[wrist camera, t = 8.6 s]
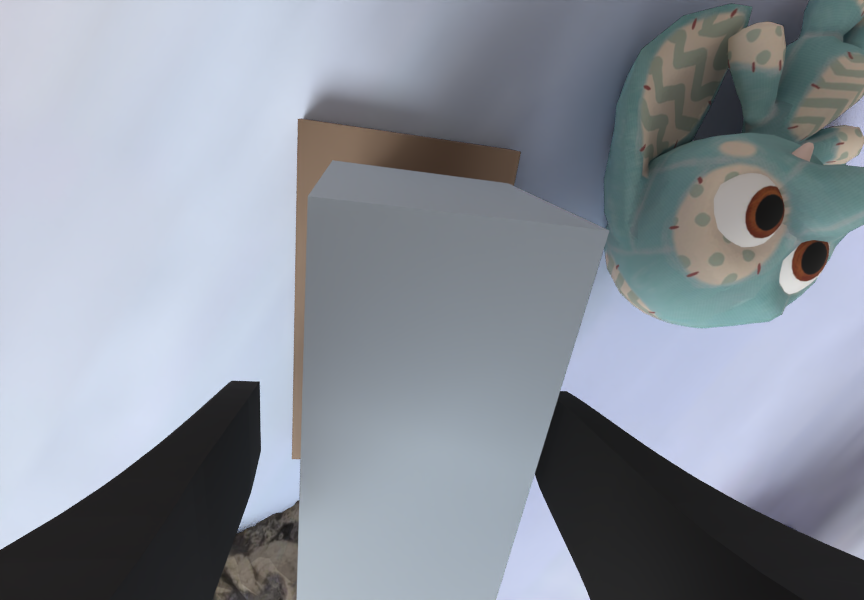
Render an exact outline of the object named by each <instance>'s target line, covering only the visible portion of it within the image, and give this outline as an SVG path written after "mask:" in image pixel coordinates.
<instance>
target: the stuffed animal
mask: <svg viewBox="0 0 864 600" xmlns="http://www.w3.org/2000/svg"><path fill="white" fill-rule="evenodd" d="M751 11H752V7H751V6H744V5H738V4H732V3H731V4H727V5H723V6H719V7H715V8H711V9H707V10H703V11H700V12H696V13H692V14H688V15H684V16H682V17H681V18H680V19H679V20H677V21H676V22H675V23H674V24H672V25H671V26H670V27H669V28H667V29H666V30H665V31H664V32H662V33H661V34H660V35H659V36H657V37H656V38H655V39H654V40H652V41H651V42H650V43H649V44H647V45H646V46H645V47H644V48H642V49H641V51H640V53H639V55H638V57H637V59H636V61H635V62H634V64H633V66H632V68H631V70H630V72H629V74H628V76H627V78H626V81H625V84H624V87H623V89H622V92H621V95H620V97H619V100H618V103H617V106H616V116H615V126H614V131H613V136H612V142H611V147H610V152H609V157H608V161H607V166H606V171H605V176H604V213H605V216H606V219H607V222H608V224H607V227H606V229H607V230H609V234H608V237H607V240H606V244H605V247H604V250H605V257H606V265H607V269H608V271H609V273H610V275H611V277H612V279H613V281H614V282H615V284H616V286H617V288H618V290H619V292H620V293H621V294H622V295H623V296H624V297H625V298H626V299H627V300H628V301H629V302H630V303H631V304H632V305H634V306H635V307H636V308H638V309H639V310H641V311H642V312H644V313H646V314H648V315H650V316H652V317H655V318H657V319H660V320H662V321H665V322H667V323H671V324H676V325H681V326H687V327H693V328H712V327H723V326H735V325H743V324H752V323H761V322H769V321H771V320H773V319H774V318H776V317H778V316H780V315H782V313H783V311H784V309H785V307H786V306H787V305H789V304H790V303H792V302H793V301H794V300H796V299H797V298H798V297H799V296H801V295H802V294H803V293H804V292H805V291H806V290H807V289H808V288H809V287H810V286H811V285H812V284H813V283H815V281H816V279H817V278H818V276H819V275H820V274H821V272H822V270H823V269H824V267H825V265H826V263H827V262H828V260H829V259H830V257H831V255H832V253H833V251H834V249H835V247H836V245H837V244H838V243H839V242H840V241H841V240H842V239H843V238H844V237H845V236H846V235H847V234H848V233H849V232H851V231H853V230H854V229H856V228H858V227H860V226H862V225H864V167H857V166H848V165H846V162H848V161H849V160H851V159H853V158H854V157H856V156H857V155H859V153H860V151H861V149H862V146H863V144H864V137H863V134H862V132H861V130H860V128H859V127H853V126H847V125H840V126H832V127H828V128H825V129H822V128H823V127H825V126H826V125H828V124H829V123H831V122H832V121H833V120H835V119H836V118H838V117H839V116H840V115H841V114H843V113H844V112H845V111H846V110H848V109H849V108H850V107H852V106H853V105H854V104H855V103H857V102H858V101H859V100H860V99H861V98H862V96H863V95H864V0H809V2H808V4H807V7H806V9H805V11H804V17H803V24H802V29H801V34H800V36H799V39H798V40H796V41H794V42H793V43H791V44H790V45H788V46H786V43H785V35H784V28H783V26H782V25H779V24H776V23H773V22H760V23H755V24H753V25H751V26H748V27H747V25H748V22H749V18H750V14H751ZM728 68H729V69H730V72H731V75H732V78H733V81H734V85H735V89H736V92H737V95H738V97H739V100H740V102H741V106H742V112H743V118H744V120H743V127H742V133H741V134H731V135H721V136H714V137H709V138H705V139H700V140H695V141H692V140H693V138H694V136H695V134H696V132H697V131H698V129H699V127H700V125H701V123H702V121H703V119H704V118H705V116H706V114H707V112H708V110H709V108H710V106H711V105H712V103H713V101H714V99H715V97H716V94H717V92H718V90H719V88H720V86H721V83H722V81H723V79H724V77H725V75H726V72H727V70H728ZM691 141H692V142H691Z"/></svg>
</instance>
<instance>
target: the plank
mask: <svg viewBox="0 0 864 600" xmlns="http://www.w3.org/2000/svg"><path fill="white" fill-rule="evenodd" d="M608 234H609V230H607V229H605V228H603V227H601V226H599V225H596V224H594V223H592V222H590V221H588V220H586V219H584V218H581V217H579V216H577V215H575V214H573V213H571V212H569V211H566V210H564V209H562V208H560V207H558V206H556V205H554V204H551V203H549V202H547V201H545V200H543V199H541V198H538V197H536V196H534V195H532V194H530V193H528V192H526V191H523V190H521V189H519V188H517V187H515V186H513V185H511V184H508V183H502V182H494V181H486V180H479V179H471V178H463V177H456V176H448V175H441V174H433V173H425V172H418V171H410V170H403V169H395V168H387V167H380V166H372V165H365V164H357V163H349V162H342V161H334V160H332V162H331V163H330V165H329V166H328V168H327V169H326V171H325V172H324V173H323V175H322V176H321V178H320V179H319V181H318V182H317V184H316V185H315V186H314V188H313V189H312V191H311V192H310V194H309V195H308V206H307V242H306V278H305V314H304V350H303V386H302V422H301V459H300V495H299V531H298V567H297V600H496V598H497V594H498V591H499V588H500V585H501V581H502V578H503V575H504V572H505V568H506V565H507V562H508V559H509V555H510V552H511V549H512V546H513V543H514V539H515V536H516V533H517V530H518V526H519V523H520V520H521V517H522V513H523V510H524V507H525V504H526V500H527V497H528V494H529V491H530V487H531V484H532V481H533V478H534V474H535V471H536V468H537V465H538V461H539V458H540V455H541V452H542V448H543V445H544V442H545V439H546V435H547V432H548V429H549V426H550V422H551V419H552V416H553V413H554V409H555V406H556V403H557V400H558V396H559V393H560V390H561V387H562V383H563V380H564V377H565V374H566V370H567V367H568V364H569V361H570V357H571V354H572V351H573V348H574V344H575V341H576V338H577V335H578V331H579V328H580V325H581V322H582V318H583V315H584V312H585V309H586V305H587V302H588V299H589V296H590V292H591V289H592V286H593V283H594V279H595V276H596V273H597V270H598V266H599V263H600V260H601V257H602V253H603V250H604V247H605V244H606V240H607V237H608Z"/></svg>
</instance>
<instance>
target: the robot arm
mask: <svg viewBox="0 0 864 600" xmlns="http://www.w3.org/2000/svg"><path fill="white" fill-rule="evenodd" d="M260 452H261V433H260V382H252V381H231V382H230V383H228V384H227V385H226V386H225V387H224V388H223V389H221V390H220V391H219V392H218V393H217V394H216V395H215V396H214V397H213V398H211V399H210V400H209V401H208V402H207V403H206V404H205V405H204V406H203V407H201V408H200V409H199V410H198V411H197V412H196V413H195V414H193V415H192V416H191V417H190V418H189V419H188V420H187V421H185V422H184V423H183V424H182V425H181V426H179V427H178V428H177V429H176V430H175V431H174V432H172V433H171V434H170V435H169V436H168V437H166V438H165V439H164V440H163V441H162V442H160V443H159V444H158V445H157V446H155V447H154V448H153V449H152V450H150V451H149V452H148V453H146V454H145V455H144V456H143V457H141V458H140V459H139V460H137V461H136V462H135V463H133V464H132V465H131V466H130V467H128V468H127V469H126V470H124V471H123V472H122V473H120V474H119V475H118V476H116V477H115V478H113V479H112V480H111V481H109V482H108V483H106V484H105V485H104V486H102V487H101V488H99V489H98V490H96V491H95V492H93V493H92V494H90V495H89V496H87V497H86V498H84V499H83V500H81V501H80V502H78V503H77V504H75V505H74V506H72V507H71V508H69V509H68V510H66V511H64V512H63V513H61V514H60V515H58V516H57V517H55V518H53V519H52V520H50V521H48V522H47V523H45V524H43V525H41V526H40V527H38V528H36V529H35V530H33V531H31V532H30V533H28V534H26V535H25V536H23V537H21V538H20V539H18V540H16V541H14V542H13V543H11V544H9V545H8V546H6V547H4V548H3V549H1V550H0V600H213V597H214V594H215V591H216V588H217V586H218V583H219V580H220V577H221V574H222V572H223V569H224V566H225V563H226V561H227V558H228V555H229V552H230V550H231V547H232V544H233V541H234V539H235V536H236V533H237V530H238V528H239V525H240V522H241V519H242V516H243V514H244V511H245V508H246V505H247V502H248V499H249V497H250V494H251V490H252V486H253V482H254V478H255V474H256V469H257V465H258V461H259V456H260ZM535 476H536V479H537V482H538V485H539V488H540V490H541V492H542V494H543V497H544V499H545V501H546V503H547V505H548V507H549V510H550V512H551V514H552V516H553V518H554V520H555V522H556V525H557V527H558V529H559V531H560V533H561V535H562V537H563V539H564V542H565V544H566V546H567V548H568V550H569V552H570V554H571V556H572V558H573V561H574V563H575V565H576V567H577V569H578V571H579V573H580V576H581V578H582V580H583V583H584V585H585V587H586V590H587V592H588V595H589V597H590V600H864V560H862V559H860V558H858V557H855V556H853V555H851V554H848V553H846V552H844V551H841V550H839V549H837V548H834V547H832V546H830V545H827V544H825V543H823V542H820V541H818V540H816V539H814V538H811V537H809V536H807V535H805V534H803V533H800V532H798V531H797V530H794V529H792V528H790V527H788V526H786V525H784V524H782V523H780V522H778V521H775V520H773V519H771V518H769V517H767V516H765V515H763V514H761V513H759V512H757V511H755V510H753V509H751V508H749V507H747V506H746V505H744V504H742V503H740V502H738V501H736V500H734V499H732V498H731V497H729V496H727V495H725V494H723V493H722V492H720V491H718V490H716V489H715V488H713V487H711V486H709V485H708V484H706V483H704V482H702V481H700V480H699V479H697V478H695V477H694V476H692V475H690V474H689V473H687V472H686V471H684V470H682V469H681V468H679V467H678V466H676V465H675V464H673V463H671V462H670V461H668V460H667V459H665V458H664V457H662V456H661V455H659V454H657V453H656V452H654V451H653V450H651V449H650V448H648V447H647V446H646V445H644V444H643V443H641V442H640V441H638V440H637V439H635V438H634V437H632V436H631V435H630V434H628V433H627V432H625V431H624V430H622V429H621V428H620V427H618V426H617V425H615V424H614V423H613V422H611V421H610V420H608V419H607V418H606V417H604V416H603V415H601V414H600V413H599V412H597V411H596V410H594V409H593V408H591V407H590V406H589V405H587V404H586V403H584V402H583V401H581V400H580V399H578V398H577V397H575V396H573V395H572V394H570V393H568V392H567V391H560V393H559V396H558V400H557V403H556V406H555V409H554V413H553V416H552V419H551V422H550V426H549V429H548V432H547V435H546V439H545V442H544V445H543V448H542V452H541V455H540V458H539V461H538V465H537V468H536V471H535Z"/></svg>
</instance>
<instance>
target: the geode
mask: <svg viewBox="0 0 864 600" xmlns="http://www.w3.org/2000/svg"><path fill="white" fill-rule="evenodd" d="M298 531H299V501H297V502H296V503H295V505H294V506H292V507H291V508H288V509H287V510H285V511H284V512H282V513H275V514H273V515H271V516H270V517H268V518H266V519H264V520H262V521H260V522H259V523H257V524H256V525H255V526H253V527H250V528H247V529H246V530H244V531H243V532H240V533H238V534H236V536H235V539H234V541H233V544H232V547H231V550H230V552H229V555H228V558H227V561H226V563H225V566H224V569H223V572H222V574H221V577H220V580H219V583H218V586H217V588H216V591H215V594H214V597H213V600H297V567H298Z"/></svg>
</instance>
